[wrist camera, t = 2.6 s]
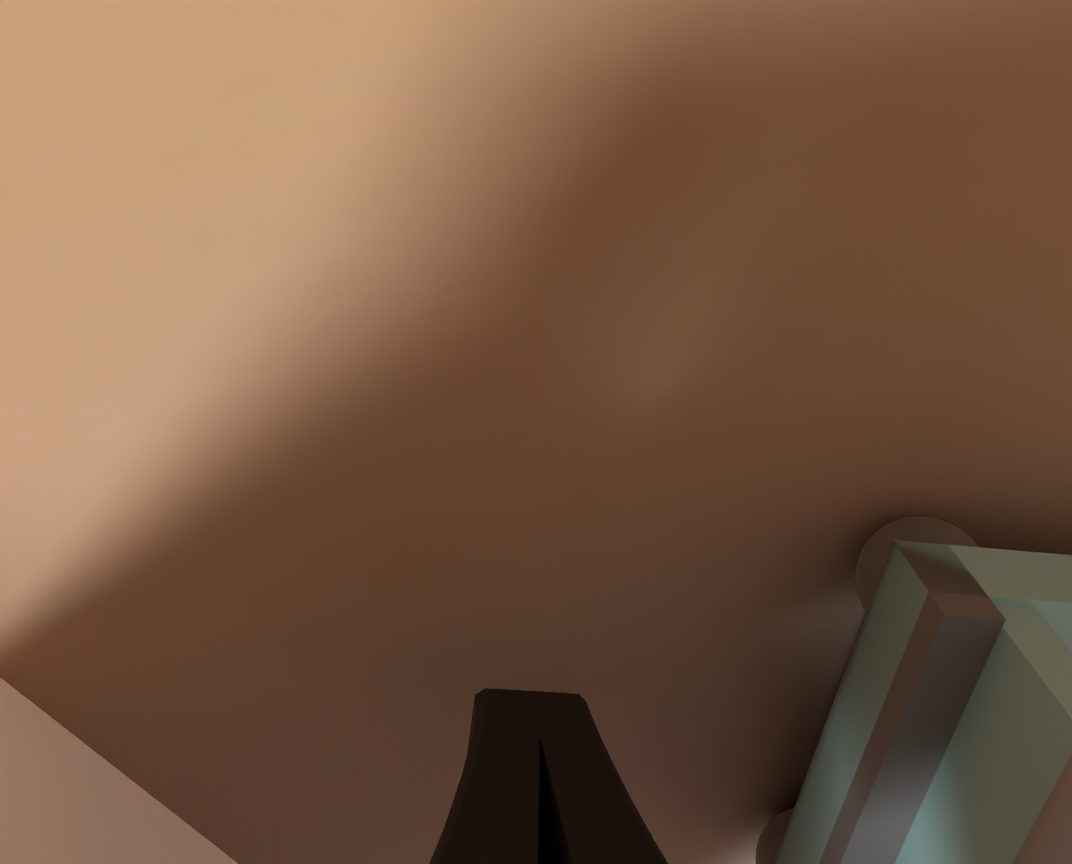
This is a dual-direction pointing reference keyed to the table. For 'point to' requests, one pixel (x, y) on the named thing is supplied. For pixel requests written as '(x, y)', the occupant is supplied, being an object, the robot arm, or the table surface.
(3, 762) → the storage container
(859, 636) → the trolley
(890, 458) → the table surface
